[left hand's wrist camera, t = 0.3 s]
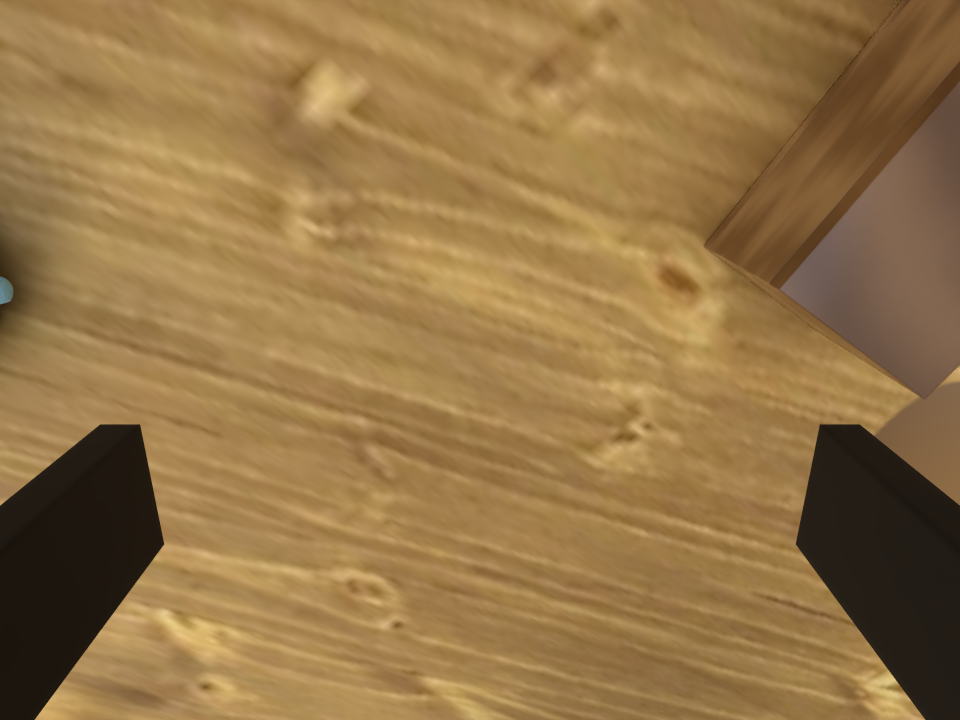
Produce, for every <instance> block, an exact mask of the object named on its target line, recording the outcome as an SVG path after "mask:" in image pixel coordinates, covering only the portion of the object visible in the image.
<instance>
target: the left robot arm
mask: <svg viewBox="0 0 960 720" xmlns="http://www.w3.org/2000/svg"><path fill="white" fill-rule="evenodd" d="M163 545H164V541H163V536H162V531H161V526H160V521H159V516H158V511H157V506H156V501H155V496H154V491H153V486H152V482H151V477H150V472H149V467H148V462H147V457H146V452H145V447H144V442H143V437H142V432H141V427H140V425H99V426H98V427H97V428H95V429H94V430H93V431H92V432H91V433H89V434H88V435H87V436H86V437H84V438H83V439H82V440H81V441H79V442H78V443H77V444H76V445H74V446H73V447H72V448H71V449H70V450H68V451H67V452H66V453H65V454H63V455H62V456H61V457H60V458H58V459H57V460H56V461H55V462H53V463H52V464H51V465H50V466H49V467H47V468H46V469H45V470H44V471H42V472H41V473H40V474H39V475H37V476H36V477H35V478H34V479H33V480H31V481H30V482H29V483H28V484H26V485H25V486H24V487H23V488H21V489H20V490H19V491H18V492H16V493H15V494H14V495H13V496H12V497H10V498H9V499H8V500H7V501H5V502H4V503H3V504H2V505H0V720H35V718H36V717H37V716H38V714H39V713H40V712H41V710H42V709H43V708H44V706H45V705H46V704H47V702H48V701H49V699H50V698H51V697H52V695H53V694H54V693H55V691H56V690H57V689H58V687H59V686H60V685H61V683H62V682H63V681H64V679H65V678H66V676H67V675H68V674H69V672H70V671H71V670H72V668H73V667H74V666H75V664H76V663H77V662H78V660H79V659H80V658H81V656H82V655H83V653H84V652H85V651H86V649H87V648H88V647H89V645H90V644H91V643H92V641H93V640H94V639H95V637H96V636H97V635H98V633H99V632H100V630H101V629H102V628H103V626H104V625H105V624H106V622H107V621H108V620H109V618H110V617H111V616H112V614H113V613H114V612H115V610H116V609H117V607H118V606H119V605H120V603H121V602H122V601H123V599H124V598H125V597H126V595H127V594H128V593H129V591H130V590H131V588H132V587H133V586H134V584H135V583H136V582H137V580H138V579H139V578H140V576H141V575H142V574H143V572H144V571H145V570H146V568H147V567H148V565H149V564H150V563H151V561H152V560H153V559H154V557H155V556H156V555H157V553H158V552H159V551H160V549H161V548H162V547H163ZM796 545H797V547H798V548H799V549H800V551H801V552H802V553H803V555H804V556H805V557H806V559H807V560H808V561H809V563H810V564H811V565H812V567H813V568H814V570H815V571H816V572H817V574H818V575H819V576H820V578H821V579H822V580H823V582H824V583H825V584H826V586H827V587H828V588H829V590H830V591H831V593H832V594H833V595H834V597H835V598H836V599H837V601H838V602H839V603H840V605H841V606H842V607H843V609H844V610H845V612H846V613H847V614H848V616H849V617H850V618H851V620H852V621H853V622H854V624H855V625H856V626H857V628H858V629H859V630H860V632H861V633H862V635H863V636H864V637H865V639H866V640H867V641H868V643H869V644H870V645H871V647H872V648H873V649H874V651H875V652H876V653H877V655H878V656H879V658H880V659H881V660H882V662H883V663H884V664H885V666H886V667H887V668H888V670H889V671H890V672H891V674H892V675H893V676H894V678H895V679H896V681H897V682H898V683H899V685H900V686H901V687H902V689H903V690H904V691H905V693H906V694H907V695H908V697H909V698H910V699H911V701H912V702H913V704H914V705H915V706H916V708H917V709H918V710H919V712H920V713H921V714H922V716H923V717H924V718H925V720H960V505H958V504H957V503H956V502H955V501H953V500H952V499H951V498H950V497H948V496H947V495H946V494H945V493H944V492H942V491H941V490H940V489H939V488H937V487H936V486H935V485H934V484H932V483H931V482H930V481H929V480H927V479H926V478H925V477H924V476H923V475H921V474H920V473H919V472H918V471H916V470H915V469H914V468H913V467H911V466H910V465H909V464H908V463H907V462H905V461H904V460H903V459H901V458H900V457H899V456H898V455H897V454H895V453H894V452H893V451H892V450H890V449H889V448H888V447H887V446H886V445H884V444H883V443H882V442H881V441H879V440H878V439H877V438H876V437H874V436H873V435H872V434H871V433H869V432H868V431H867V430H866V429H865V428H863V427H862V426H861V425H820V427H819V432H818V437H817V442H816V447H815V452H814V457H813V462H812V467H811V472H810V477H809V482H808V486H807V491H806V496H805V501H804V506H803V511H802V516H801V521H800V526H799V531H798V536H797V541H796Z"/></svg>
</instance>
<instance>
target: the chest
mask: <svg viewBox="0 0 960 720" xmlns="http://www.w3.org/2000/svg"><path fill="white" fill-rule="evenodd" d="M959 62H960V0H902V1H901V2H900V3H899V4H898V6H897V7H896V8H895V9H894V11H893V12H892V13H891V14H890V16H889V17H888V18H887V19H886V21H885V22H884V23H883V24H882V26H881V27H880V28H879V29H878V30H877V32H876V33H875V34H874V35H873V37H872V38H871V39H870V40H869V42H868V43H867V44H866V45H865V47H864V48H863V49H862V50H861V52H860V53H859V54H858V55H857V57H856V58H855V59H854V60H853V61H852V63H851V64H850V65H849V66H848V68H847V69H846V70H845V71H844V73H843V74H842V75H841V76H840V78H839V79H838V80H837V81H836V83H835V84H834V85H833V86H832V88H831V89H830V90H829V91H828V92H827V94H826V95H825V96H824V97H823V99H822V100H821V101H820V102H819V104H818V105H817V106H816V107H815V109H814V110H813V111H812V112H811V114H810V115H809V116H808V117H807V118H806V120H805V121H804V122H803V123H802V125H801V126H800V127H799V128H798V130H797V131H796V132H795V133H794V135H793V136H792V137H791V138H790V140H789V141H788V142H787V143H786V145H785V146H784V147H783V148H782V149H781V151H780V152H779V153H778V154H777V156H776V157H775V158H774V159H773V161H772V162H771V163H770V164H769V166H768V167H767V168H766V169H765V171H764V172H763V173H762V174H761V176H760V177H759V178H758V179H757V180H756V182H755V183H754V184H753V185H752V187H751V188H750V189H749V190H748V192H747V193H746V194H745V195H744V197H743V198H742V199H741V200H740V202H739V203H738V204H737V205H736V206H735V208H734V209H733V210H732V211H731V213H730V214H729V215H728V216H727V218H726V219H725V220H724V221H723V223H722V224H721V225H720V226H719V228H718V229H717V230H716V231H715V233H714V234H713V235H712V236H711V237H710V239H709V240H708V241H707V242H706V244H705V245H704V247H705V248H706V249H707V250H709V251H710V252H711V253H713V254H714V255H715V256H717V257H718V258H720V259H721V260H722V261H724V262H725V263H726V264H728V265H729V266H730V267H732V268H733V269H734V270H736V271H737V272H738V273H740V274H741V275H742V276H744V277H745V278H746V279H748V280H749V281H750V282H752V283H753V284H754V285H756V286H757V287H758V288H760V289H761V290H762V291H764V292H765V293H766V294H768V295H769V296H770V297H772V298H773V299H775V300H776V301H777V302H779V303H780V304H781V305H783V306H784V307H785V308H787V309H788V310H789V311H791V312H792V313H793V314H795V315H796V316H797V317H799V318H800V319H801V320H803V321H804V322H805V323H807V324H808V325H809V326H811V327H812V328H813V329H815V330H816V331H817V332H819V333H821V334H822V335H824V336H825V337H827V338H828V339H830V340H832V341H833V342H835V343H836V344H838V345H839V346H841V347H843V348H844V349H846V350H847V351H849V352H850V353H852V354H854V355H855V356H857V357H858V358H860V359H861V360H863V361H865V362H866V363H868V364H869V365H871V366H872V367H874V368H876V369H877V370H879V371H880V372H882V373H883V374H885V375H887V376H888V377H890V378H891V379H893V380H895V381H896V382H898V381H897V380H896V379H894V378H893V377H892V376H890V375H889V374H888V373H886V372H885V371H884V370H882V369H881V368H880V367H878V366H877V365H876V364H874V363H873V362H872V361H870V360H869V359H868V358H866V357H865V356H864V355H862V354H861V353H860V352H858V351H857V350H856V349H854V348H853V347H852V346H850V345H849V344H848V343H846V342H845V341H844V340H842V339H841V338H840V337H838V336H837V335H836V334H834V333H833V332H832V331H830V330H829V329H828V328H826V327H825V326H824V325H822V324H821V323H820V322H818V321H817V320H816V319H814V318H813V317H812V316H810V315H809V314H808V313H806V312H805V311H804V310H802V309H801V308H800V307H798V306H797V305H796V304H794V303H793V302H792V301H790V300H789V299H788V298H786V297H785V296H784V295H782V294H781V293H780V292H778V291H777V290H776V289H774V288H773V287H772V286H770V285H769V283H770V282H771V281H772V279H773V278H774V277H775V276H776V275H777V274H778V272H779V271H780V270H781V269H782V268H783V267H784V265H785V264H786V263H787V262H788V261H789V260H790V259H791V257H792V256H793V255H794V254H795V253H796V252H797V250H798V249H799V248H800V247H801V246H802V245H803V243H804V242H805V241H806V240H807V239H808V238H809V236H810V235H811V234H812V233H813V232H814V231H815V229H816V228H817V227H818V226H819V225H820V224H821V222H822V221H823V220H824V219H825V218H826V217H827V215H828V214H829V213H830V212H831V211H832V210H833V208H834V207H835V206H836V205H837V204H838V203H839V201H840V200H841V199H842V198H843V197H844V196H845V194H846V193H847V192H848V191H849V190H850V189H851V188H852V186H853V185H854V184H855V183H856V182H857V181H858V179H859V178H860V177H861V176H862V175H863V174H864V172H865V171H866V170H867V169H868V168H869V167H870V165H871V164H872V163H873V162H874V161H875V160H876V158H877V157H878V156H879V155H880V154H881V153H882V151H883V150H884V149H885V148H886V147H887V146H888V144H889V143H890V142H891V141H892V140H893V139H894V137H895V136H896V135H897V134H898V133H899V132H900V130H901V129H902V128H903V127H904V126H905V125H906V123H907V122H908V121H909V120H910V119H911V118H912V117H913V115H914V114H915V113H916V112H917V111H918V110H919V108H920V107H921V106H922V105H923V104H924V103H925V101H926V100H927V99H928V98H929V97H930V96H931V94H932V93H933V92H934V91H935V90H936V89H937V87H938V86H939V85H940V84H941V83H942V82H943V80H944V79H945V78H946V77H947V76H948V75H949V73H950V72H951V71H952V70H953V69H954V68H955V66H956V65H957V64H958V63H959ZM898 383H899V384H901V383H900V382H898ZM901 385H902V384H901ZM902 386H904V385H902ZM904 387H905V386H904ZM907 389H908V388H907Z"/></svg>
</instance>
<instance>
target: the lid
mask: <svg viewBox="0 0 960 720" xmlns="http://www.w3.org/2000/svg"><path fill="white" fill-rule="evenodd" d="M769 285H770V286H772V287H773V288H774V289H776V290H777V291H778V292H780V293H781V294H782V295H784V296H785V297H786V298H788V299H789V300H790V301H792V302H793V303H794V304H796V305H797V306H798V307H800V308H801V309H802V310H804V311H805V312H806V313H808V314H809V315H810V316H812V317H813V318H814V319H816V320H817V321H818V322H820V323H821V324H822V325H824V326H825V327H826V328H828V329H829V330H830V331H832V332H833V333H834V334H836V335H837V336H838V337H840V338H841V339H842V340H844V341H845V342H846V343H848V344H849V345H850V346H852V347H853V348H854V349H856V350H857V351H858V352H860V353H861V354H862V355H864V356H865V357H866V358H868V359H869V360H870V361H872V362H873V363H874V364H876V365H877V366H878V367H880V368H881V369H882V370H884V371H885V372H886V373H888V374H889V375H890V376H892V377H893V378H894V379H896V380H897V381H898V382H900V383H901V384H902V385H904V386H905V387H906V388H908V389H909V390H910V391H912V392H913V393H915V394H917V395H918V396H920V397H921V398H923V399H926V398H927V397H928V396H929V395H930V394H931V393H932V392H933V391H934V390H935V389H936V388H937V387H938V386H939V385H940V384H941V383H942V382H943V381H944V380H945V379H946V378H947V377H948V376H949V375H950V374H951V373H952V372H953V371H954V370H955V369H956V368H957V367H958V366H959V365H960V62H959V63H958V64H957V65H956V66H955V68H954V69H953V70H952V71H951V72H950V73H949V75H948V76H947V77H946V78H945V79H944V80H943V82H942V83H941V84H940V85H939V86H938V87H937V89H936V90H935V91H934V92H933V93H932V94H931V96H930V97H929V98H928V99H927V100H926V101H925V103H924V104H923V105H922V106H921V107H920V108H919V110H918V111H917V112H916V113H915V114H914V115H913V117H912V118H911V119H910V120H909V121H908V122H907V123H906V125H905V126H904V127H903V128H902V129H901V130H900V132H899V133H898V134H897V135H896V136H895V137H894V139H893V140H892V141H891V142H890V143H889V144H888V146H887V147H886V148H885V149H884V150H883V151H882V153H881V154H880V155H879V156H878V157H877V158H876V160H875V161H874V162H873V163H872V164H871V165H870V167H869V168H868V169H867V170H866V171H865V172H864V174H863V175H862V176H861V177H860V178H859V179H858V181H857V182H856V183H855V184H854V185H853V186H852V188H851V189H850V190H849V191H848V192H847V193H846V194H845V196H844V197H843V198H842V199H841V200H840V201H839V203H838V204H837V205H836V206H835V207H834V208H833V210H832V211H831V212H830V213H829V214H828V215H827V217H826V218H825V219H824V220H823V221H822V222H821V224H820V225H819V226H818V227H817V228H816V229H815V231H814V232H813V233H812V234H811V235H810V236H809V238H808V239H807V240H806V241H805V242H804V243H803V245H802V246H801V247H800V248H799V249H798V250H797V252H796V253H795V254H794V255H793V256H792V257H791V259H790V260H789V261H788V262H787V263H786V264H785V265H784V267H783V268H782V269H781V270H780V271H779V272H778V274H777V275H776V276H775V277H774V278H773V279H772V281H771V282H770V283H769Z"/></svg>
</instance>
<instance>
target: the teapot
mask: <svg viewBox="0 0 960 720" xmlns="http://www.w3.org/2000/svg"><path fill="white" fill-rule="evenodd" d="M13 292H14V291H13V287H12V285H11V283H10V282H9V281H8V280H7V279H5V278H3V277H0V304H3V303H7V302H9V301H11V299H12V297H13Z"/></svg>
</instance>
